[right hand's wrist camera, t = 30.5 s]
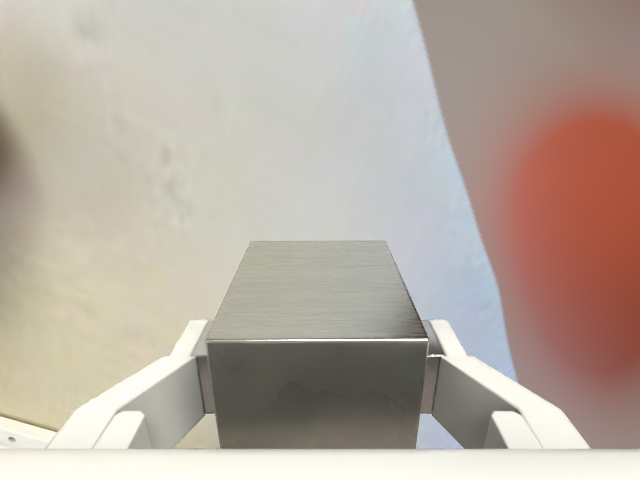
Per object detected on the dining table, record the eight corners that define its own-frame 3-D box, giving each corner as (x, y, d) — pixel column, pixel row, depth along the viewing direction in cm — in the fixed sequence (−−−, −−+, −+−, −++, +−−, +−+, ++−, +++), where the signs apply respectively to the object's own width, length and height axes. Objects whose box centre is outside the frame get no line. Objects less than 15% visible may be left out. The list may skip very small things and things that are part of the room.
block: (260, 365, 13) (228, 511, 8) (250, 240, 11) (203, 340, 7) (377, 365, 13) (408, 511, 8) (386, 239, 11) (430, 339, 7)
